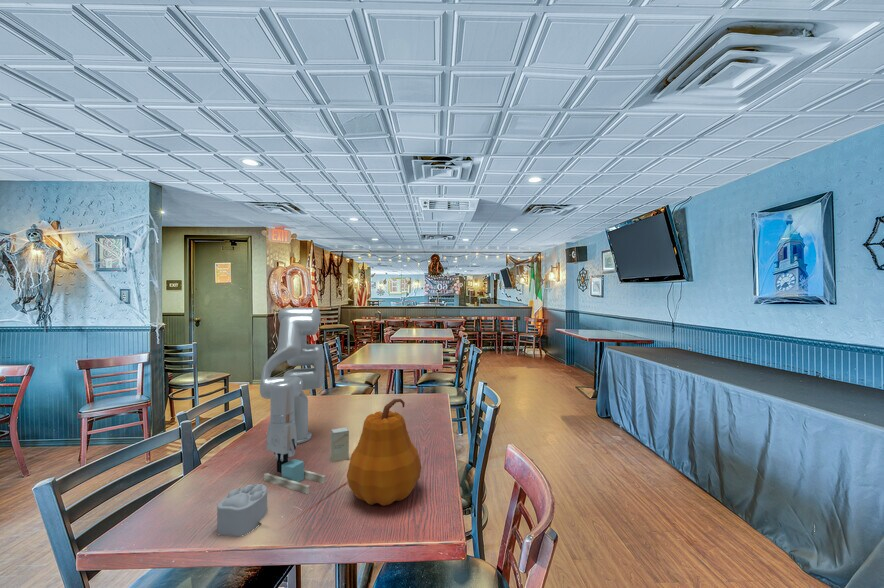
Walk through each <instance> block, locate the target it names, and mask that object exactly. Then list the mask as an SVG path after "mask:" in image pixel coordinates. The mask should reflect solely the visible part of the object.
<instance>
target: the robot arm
mask: <svg viewBox="0 0 884 588" xmlns="http://www.w3.org/2000/svg"><path fill="white" fill-rule="evenodd" d="M277 318H278V322H279V323H280V324H279V330H278V340H277V349H276V352H275V353H274V354H272V355H271V356H270V357H269V358H268V360H266V362H265V364H264V365H263V368H262V371H261V374H260V375H261V376H260V381H259V383H260V385H259V394H260V396H261V398H263V399H266V400H267V399H269V400H270V401H269V402H270V405H269V406H270V415H269V417H270V421H268V422H269V423H268V426H267V431H266V434H267V435H266V450H267V451H269V452H271V453H273V454H274V455H275V460H276V473H279V474H282V464H284V463H286V462H288V461H289V459H290V458H291V457H293V456H295V454H296V453H295V450H296V449H297V446H298V445H299V444H302V443H306V442H308V441H309V440H311V438H312V437H313V435H312V432H309V410H308V409H309V399H308V396H307V395H306V393H305V392H304V391H305V390H307V391H309V390H317V389H322V388H323V386H324V384H325V352H324V348H323V346H322V345H321V344H318V343H317V344H316V343H310V344H308V343H307V339H308V338H307V336H315V335H316V334H317V333H318V332H319V328H320V323H321V319H322V318H321V311H320V310H319V308H318V307H287V308H281V309H279V311H278V314H277ZM286 362H287V365H289V366H290V367H299V368H291V369H289V370H286V371H285V372H284V374H283V376H273V377H271V374H272V372H273V371H274V369H276V368H277V367H278V366H279V365H281V364H282V363H283V364H284V363H286ZM303 366H307V367H306V368H300V367H303ZM308 366H312V367H308Z"/></svg>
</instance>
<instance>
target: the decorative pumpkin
mask: <svg viewBox="0 0 884 588" xmlns="http://www.w3.org/2000/svg"><path fill="white" fill-rule="evenodd" d="M397 403H400V404H401V405H402V408H405V401H403V399H401V398H396V399H395V398H394V399H392V400H391V401H390V402H388V403H387V404H385V406H384V407H383V410H382V411H376V412H374V413H370V414H369V415H367V416H366V418H365V420H364V422H363V426H362V431H361V434H360V437H359V440H358V442H357V445H356V447H355V448H354V450H353V452H352V453H351V456H350V459H349V464H348V469H347V473H346V478H347V482H348V483H347V484H348V487H349V489H350V490H351V491H352V493H353V494H354V496H356V498H357V499H359V500H361V501H364V502H366V503H367V504H368V505H371V506H373V505H375V504H379V505H380V506H383V507H385V506H390V505H391V504H393V503H394V502H401V501H403V500H404V499H406V498H407V497H409V496H410V494H411V492H412V491H413V490H414V488H415V486H416V484H417V482H418V481H419V479H420V476H421V472H422V471H421V470H422V464H421V463H422V462H421V459H420V454H419V451H418V449H417V448H416V446H415V445H414V444H413V442H412V439H411V438H410V435H409V432H408V429H407V425H406V421H405V418H404V417H403V415H402V414H400V413H399V412H398V411H394V412H392V410H390V409H391V408H392V407H394V405H396V404H397Z"/></svg>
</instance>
